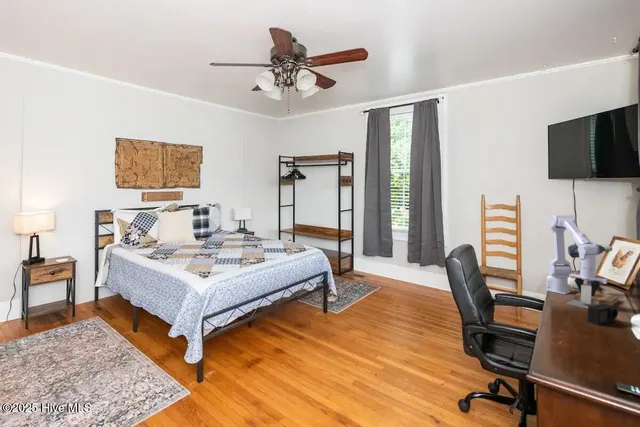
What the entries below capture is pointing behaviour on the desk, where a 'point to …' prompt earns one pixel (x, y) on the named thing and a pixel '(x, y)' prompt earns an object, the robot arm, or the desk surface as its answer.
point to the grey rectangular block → (586, 294)
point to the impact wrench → (574, 253)
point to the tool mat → (579, 304)
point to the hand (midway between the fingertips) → (587, 294)
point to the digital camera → (602, 314)
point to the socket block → (601, 298)
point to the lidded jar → (572, 281)
